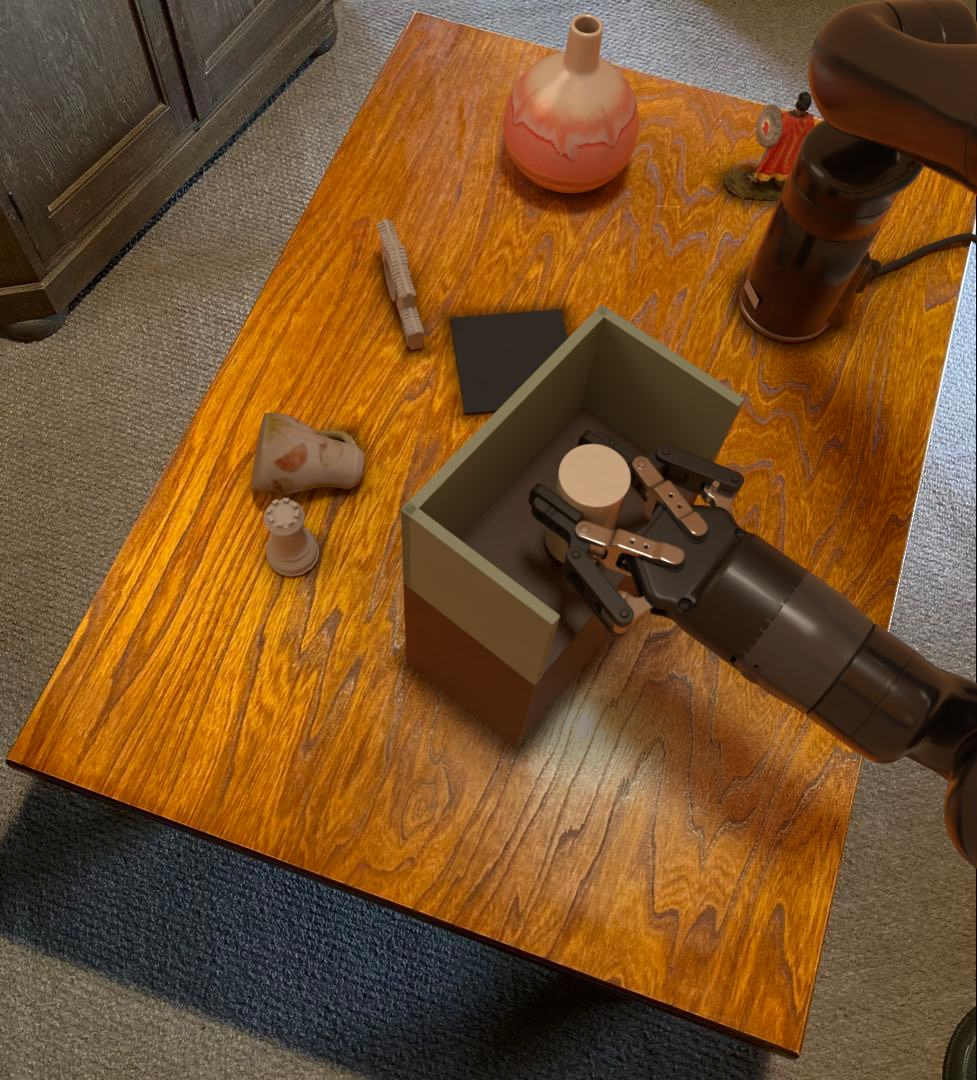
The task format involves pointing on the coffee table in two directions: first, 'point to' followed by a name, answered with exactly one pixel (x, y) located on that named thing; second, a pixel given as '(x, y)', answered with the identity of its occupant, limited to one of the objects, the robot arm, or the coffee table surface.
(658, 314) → the coffee table surface
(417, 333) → the garden wall model
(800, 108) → the figurine
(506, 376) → the mat
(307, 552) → the rook chess piece
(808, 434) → the coffee table surface
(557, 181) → the vase
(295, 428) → the mug
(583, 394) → the bay
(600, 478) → the beige cylinder
